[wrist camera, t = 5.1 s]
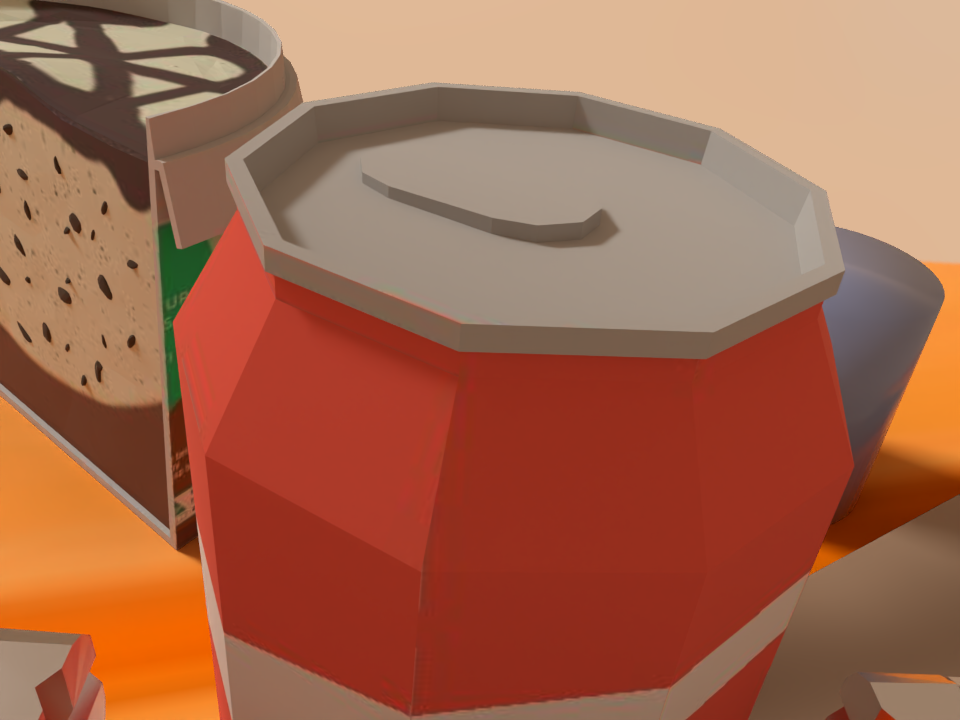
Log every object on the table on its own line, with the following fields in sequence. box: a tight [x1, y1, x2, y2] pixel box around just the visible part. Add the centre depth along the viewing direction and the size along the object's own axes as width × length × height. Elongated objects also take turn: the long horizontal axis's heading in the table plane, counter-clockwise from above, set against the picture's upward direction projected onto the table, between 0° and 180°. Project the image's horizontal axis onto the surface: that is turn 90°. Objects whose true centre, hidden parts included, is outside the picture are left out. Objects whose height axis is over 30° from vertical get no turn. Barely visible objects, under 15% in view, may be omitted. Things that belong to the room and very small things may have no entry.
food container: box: [0, 0, 303, 550], centre depth 21 cm, size 12×6×10 cm, turn 50°
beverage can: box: [173, 83, 854, 720], centre depth 11 cm, size 6×6×12 cm
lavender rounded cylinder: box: [822, 227, 945, 525], centre depth 22 cm, size 5×5×6 cm
